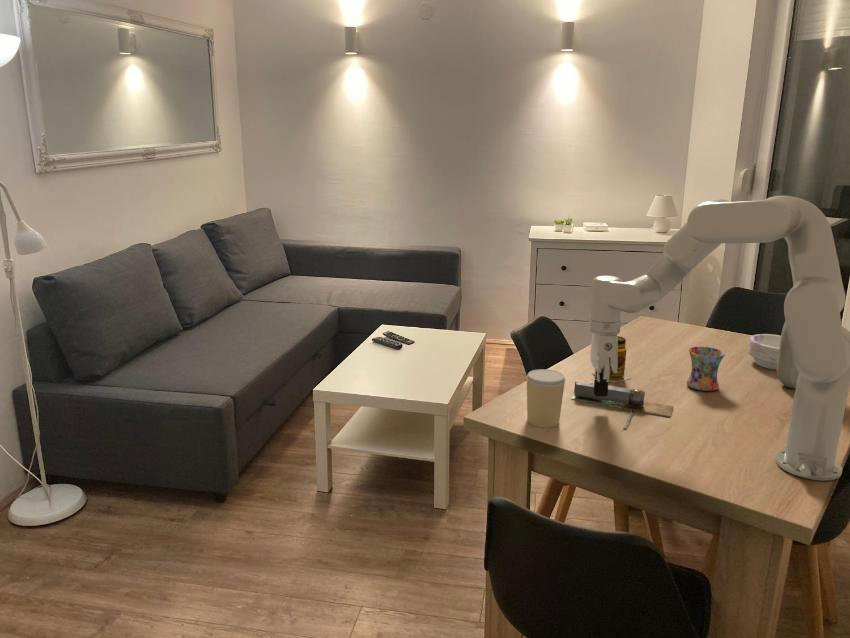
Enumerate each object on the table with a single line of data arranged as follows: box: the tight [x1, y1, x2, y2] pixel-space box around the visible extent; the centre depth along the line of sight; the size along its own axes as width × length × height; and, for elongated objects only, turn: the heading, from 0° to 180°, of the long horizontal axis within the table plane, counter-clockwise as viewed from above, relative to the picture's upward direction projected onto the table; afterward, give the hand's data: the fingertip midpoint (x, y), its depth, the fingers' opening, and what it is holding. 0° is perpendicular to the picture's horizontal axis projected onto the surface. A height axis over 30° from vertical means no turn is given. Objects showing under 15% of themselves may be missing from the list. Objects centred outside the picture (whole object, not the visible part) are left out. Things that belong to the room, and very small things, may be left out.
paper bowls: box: [747, 333, 781, 371], centre depth 214 cm, size 15×15×8 cm
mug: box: [686, 346, 726, 392], centre depth 196 cm, size 12×9×11 cm
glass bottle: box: [776, 321, 799, 390], centre depth 193 cm, size 10×10×28 cm
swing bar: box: [574, 381, 646, 406], centre depth 184 cm, size 18×4×4 cm, turn 66°
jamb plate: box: [620, 400, 674, 430], centre depth 175 cm, size 20×12×1 cm, turn 155°
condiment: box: [592, 335, 630, 383], centre depth 202 cm, size 7×8×12 cm
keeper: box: [570, 378, 623, 409], centre depth 187 cm, size 8×14×3 cm, turn 65°
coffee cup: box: [526, 368, 566, 428], centre depth 171 cm, size 9×9×12 cm
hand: (600, 395), depth 178 cm, fingers closed
